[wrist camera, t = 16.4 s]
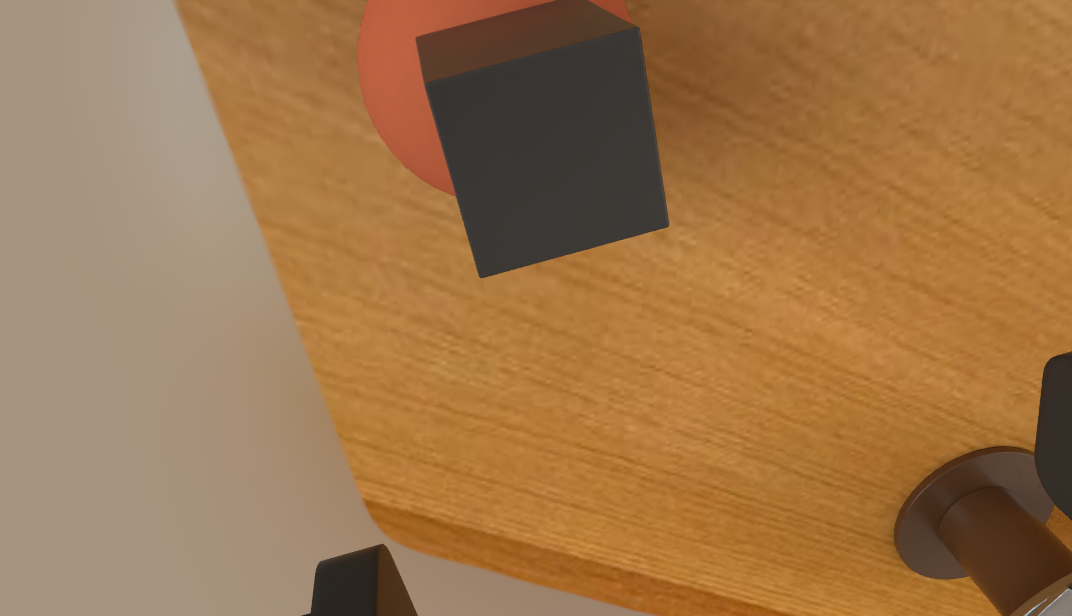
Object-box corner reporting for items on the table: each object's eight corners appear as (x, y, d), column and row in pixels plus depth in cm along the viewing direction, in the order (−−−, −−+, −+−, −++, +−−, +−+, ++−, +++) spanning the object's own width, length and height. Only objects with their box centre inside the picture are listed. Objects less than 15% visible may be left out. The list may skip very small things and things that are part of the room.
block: (459, 193, 23) (479, 279, 18) (414, 36, 21) (424, 84, 16) (607, 152, 24) (670, 227, 18) (578, -6, 22) (639, 26, 16)
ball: (403, 171, 33) (406, 279, 25) (330, -60, 29) (301, -32, 20) (612, 117, 34) (689, 203, 25) (570, -122, 29) (647, -119, 20)
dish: (863, 620, 52) (966, 784, 43) (859, 456, 45) (982, 609, 36) (1069, 561, 52) (1216, 712, 43) (1096, 390, 45) (1279, 524, 36)
